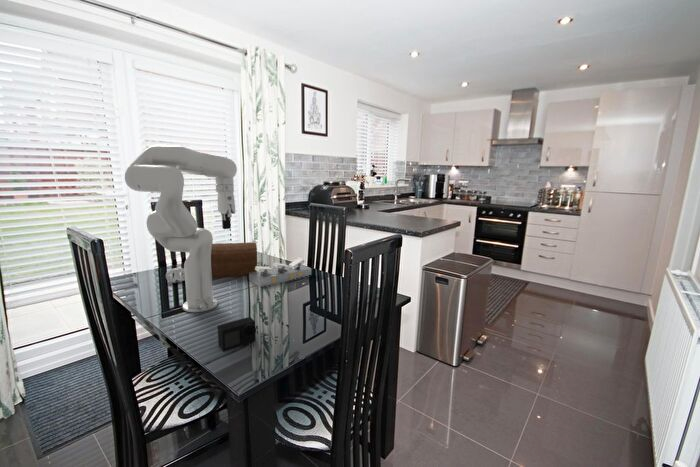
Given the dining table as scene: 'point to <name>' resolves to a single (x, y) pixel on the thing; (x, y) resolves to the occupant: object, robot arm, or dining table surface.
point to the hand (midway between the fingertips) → (226, 228)
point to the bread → (233, 259)
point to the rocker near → (263, 269)
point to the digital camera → (236, 333)
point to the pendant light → (175, 274)
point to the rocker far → (296, 263)
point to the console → (278, 275)
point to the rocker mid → (281, 266)
